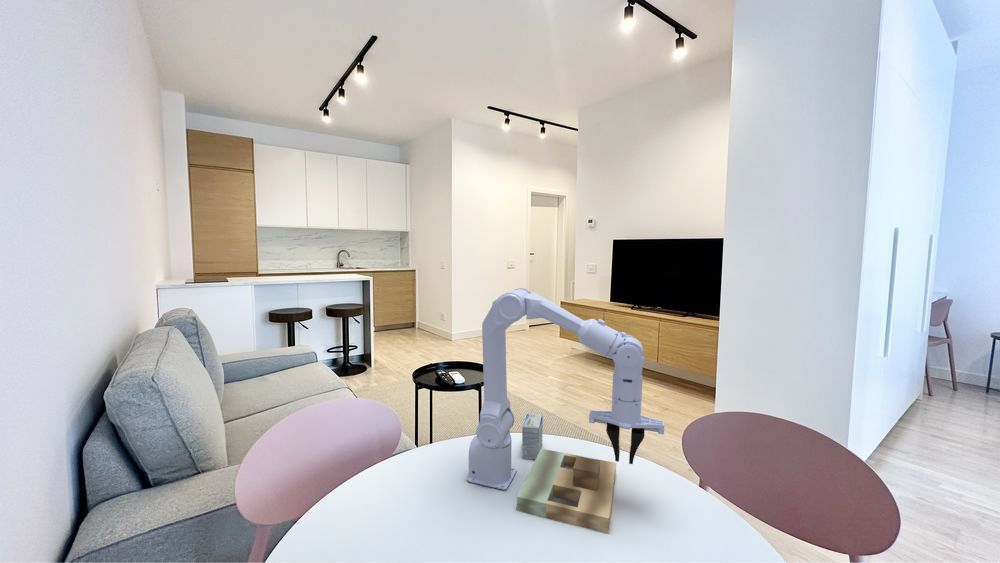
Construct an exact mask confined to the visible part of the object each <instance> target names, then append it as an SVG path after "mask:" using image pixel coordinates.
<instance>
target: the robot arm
mask: <svg viewBox="0 0 1000 563" xmlns="http://www.w3.org/2000/svg"><path fill="white" fill-rule="evenodd" d="M525 316H526V317H525ZM523 317H525V318H526V320H536V319H544V320H546V321H548V322H551V323H552V324H555V325H556V326H558V327H561V328H563V329H565V330H567V331H569V332H571V333H573V334H576V336H577V338H578V340H579V341H578V342H579V343H580V344H582V345H583V346H585V347H587V348H589V349H591V350H593V351H594V352H596V353H598V354H600V355H602V356H603V357H606V358H607V359H612V360H613V363H614V371H613V374H612V394H611V410H605V411H604V410H590V411H589V414H588V422H589V423H590V424H595V423H598V424H604V425H606V428H605V429H606V434H607V435H606V436H608V438H609V441H610V443H611V446H612V449H613V453H614V458H615V462H616V463H617V462H620V454H621V453H620V429H623V430H631V436H630V448H629V456H628V458H629V460H628V464H629V465H634V464H633V463H634V459H635V456H636V454H637V453H636V452H637V451H638V448H639V447H640V444H641V443H642V442H643V441H644V438H645V431H648V432H652V433H653V432H654V433H657V434H659V435H665V421H664V420H659V419H655V418H650V417H647V416H644V415H642V398H643V397H642V396H643V395H642V394H643V378H644V377H643V366H644V364H645V361H646V358H645V353H644V347H643V344H642V343H641V342H640V340H638V339H637V338H635V336H634V335H631V334H627V332H624V331H621V332H620V331H618V330H616V329H614V328H612V327H610V326H608V325H607V324H605V320H603V319H601V318H598V320H596V319H595V318H590V319H586V320H585V319H582V318H580V317H578V316H577V315H575V314H573V313H571V312H570V311H568V310H566V309H565V308H562V307H561V306H559V305H558V304H556V303H554V302H552V301H551V300H549V299H548V298H546V297H544V296H542V295H540V294H538V293H536V292H534V291H533V292H531V291H529V290H528V289H526V288H522V287H518V288H515V289H513V290H511V291H509V292H508V291H507V292H505V293H502V294H501V295H499V297H497V298H496V299H495V300H494V301H492V303H491V307H490V309H489V310H488V312H487V314H486V316H485V318H484V320H483V321H482V325H481V331H482V332H481V333H482V337H481V338H482V367H483V369H482V370H483V373H482V374H483V404H482V407H481V410H480V413H479V423H478V425H477V427H476V432H475V433H476V435H474V436H473V438H472V440H471V441H470V444H469V449H468V477H467V479H466V481H467V482H468V483H473V484H477V485H482V486H485V487H489V488H493V489H498V490H503V491H507V490H508V488H509V487H510V485H511V483H512V481H513V479H514V477H515V475H516V473H517V470H518V469H516V468H512V443H513V442H512V436H511V432H510V430H511V429H512V428H513V426H514V424H515V416H514V412H513V411H512V408H511V401H510V399H509V398H508V387H507V386H508V384H507V381H508V380H507V347H506V346H507V344H506V343H507V342H506V331H507V330H508V328H510V327H511V326H512V325H513V324H514V323H515V322H518V321H520V320H521V319H522V318H523Z"/></svg>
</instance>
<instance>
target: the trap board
mask: <svg viewBox="0 0 1000 563" xmlns="http://www.w3.org/2000/svg"><path fill="white" fill-rule="evenodd" d="M577 456H580V457H585V458H590V459H595V460H600V478H599V484H598V489H597V491H594V490H589V489H584V488H580V487H575V486H573V468H574V464H575V461H576V458H577ZM616 469H617V462H616V461H615V462H612V461H610V460H603V459H599V458H592V457H588V456H582V455H577V454H572V453H566V452H561V451H556V450H552V449H545V448H542V449H541V450H540V452H539V454H538V456H537V458H536V460H534V462H533V463H532V466H531V468H530V469H529V471H528V473H527V476H526V478H525V480H524V482H523V484H522V486H521V488H520V490H519V492H518V494H517V495H516V511H517V512H522V513H526V514H529V515H533V516H536V517H541V518H545V519H549V520H554V521H557V522H562V523H565V524H570V525H573V526H576V527H577V526H578V527H581V528H585V529H589V530H593V531H596V532H597V531H598V532H601V533H604V534H609V532H610V525H611V515H612V508H613V499H614V491H615V483H616V474H617V473H616V472H617V470H616Z"/></svg>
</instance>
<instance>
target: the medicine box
mask: <svg viewBox="0 0 1000 563" xmlns="http://www.w3.org/2000/svg"><path fill="white" fill-rule="evenodd" d="M543 420H544V419H543V414H538V413H537V414H535V413H526V416H525V418H524V423H523V425H522V427H521V428H522V429H521V430H522V432H521V433H522V435H521V438H522V439H521V440H522V444H521V449H522V452H521V453H522V454H521V455H522V457H521V458H522V459H525V460H532V461H535V460H536V458H537V456H538V454H539V452H540V450H541V449H543V425H544V424H543V423H544V421H543Z"/></svg>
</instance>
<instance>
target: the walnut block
mask: <svg viewBox="0 0 1000 563" xmlns="http://www.w3.org/2000/svg"><path fill="white" fill-rule="evenodd" d="M580 456H581V455H578V456H577V458H576V461H575V464H574V468H573V486H575V487H580V488H584V489H589V490H594V491H597V489H598V484H599V478H600V460H601V459H599V460H595V459H596V458H594V459H590V458H591V457H588V458H585V457H586V456H583V457H580Z"/></svg>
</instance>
